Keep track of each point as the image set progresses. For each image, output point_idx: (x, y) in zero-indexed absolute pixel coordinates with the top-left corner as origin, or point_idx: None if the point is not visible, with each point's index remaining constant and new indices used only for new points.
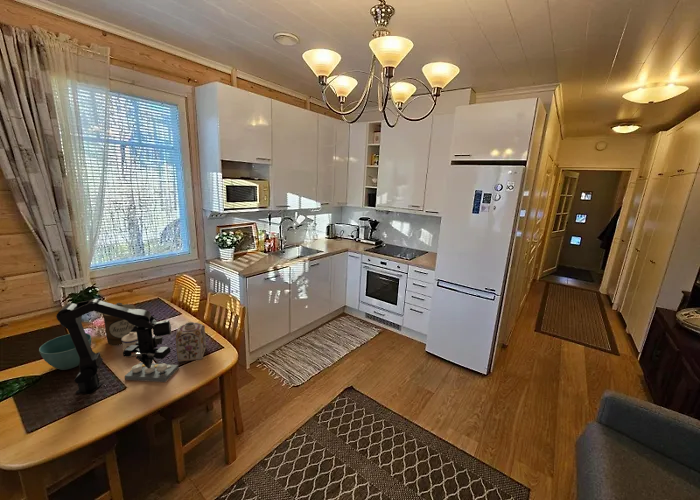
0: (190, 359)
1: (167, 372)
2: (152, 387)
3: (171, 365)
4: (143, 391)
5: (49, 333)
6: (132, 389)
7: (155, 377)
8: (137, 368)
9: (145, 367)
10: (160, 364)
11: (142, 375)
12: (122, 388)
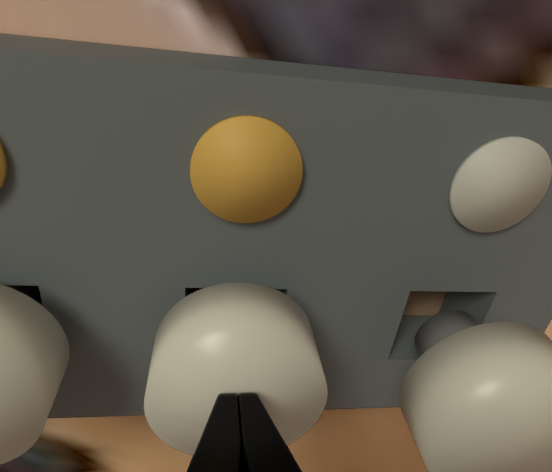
0: None
1: (509, 312)
2: (366, 426)
3: (543, 133)
4: (307, 467)
5: None
6: (179, 463)
7: (378, 404)
8: (3, 440)
9: (153, 410)
10: (483, 419)
11: None
12: (56, 466)
